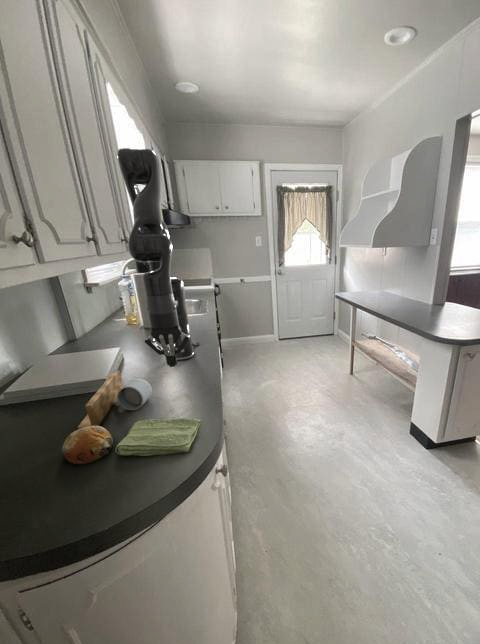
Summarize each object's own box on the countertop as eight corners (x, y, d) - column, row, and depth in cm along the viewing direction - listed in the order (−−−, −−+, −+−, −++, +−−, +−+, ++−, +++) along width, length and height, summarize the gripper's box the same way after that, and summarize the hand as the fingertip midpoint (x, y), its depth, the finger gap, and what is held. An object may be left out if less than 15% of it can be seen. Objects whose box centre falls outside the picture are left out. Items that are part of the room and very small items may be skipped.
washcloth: (191, 455, 71) (189, 444, 70) (114, 459, 70) (110, 447, 69) (202, 424, 83) (201, 414, 82) (137, 427, 82) (134, 416, 81)
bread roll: (110, 448, 80) (98, 420, 79) (122, 448, 72) (109, 417, 72) (67, 468, 73) (53, 438, 72) (76, 471, 65) (60, 437, 65)
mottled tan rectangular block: (108, 390, 103) (102, 371, 100) (123, 388, 104) (119, 370, 101) (77, 429, 81) (70, 407, 79) (98, 427, 82) (91, 405, 80)
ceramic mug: (155, 397, 98) (150, 375, 95) (145, 410, 90) (139, 387, 87) (122, 398, 98) (116, 376, 95) (109, 411, 90) (102, 388, 87)
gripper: (188, 306, 90) (195, 359, 97) (140, 308, 88) (152, 363, 95) (185, 311, 84) (194, 368, 91) (134, 314, 81) (147, 373, 88)
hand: (172, 366), depth 93 cm, fingers closed
